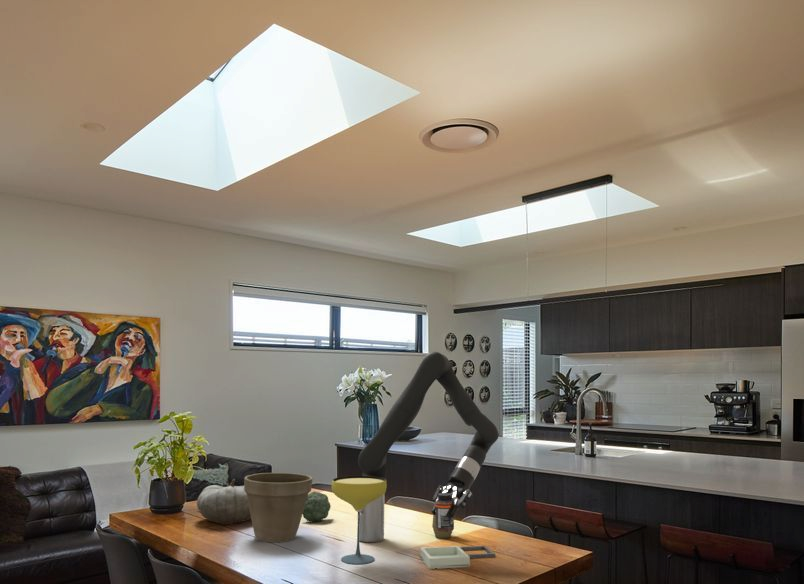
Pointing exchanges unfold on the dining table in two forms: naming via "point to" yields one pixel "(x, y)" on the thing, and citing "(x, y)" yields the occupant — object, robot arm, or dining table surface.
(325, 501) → the vegetable
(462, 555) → the dish
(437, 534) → the squeeze bottle
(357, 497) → the cocktail glass
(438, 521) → the supplement bottle
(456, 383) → the robot arm
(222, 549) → the dining table surface
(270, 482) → the plant pot
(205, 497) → the gourd
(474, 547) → the socket collar
